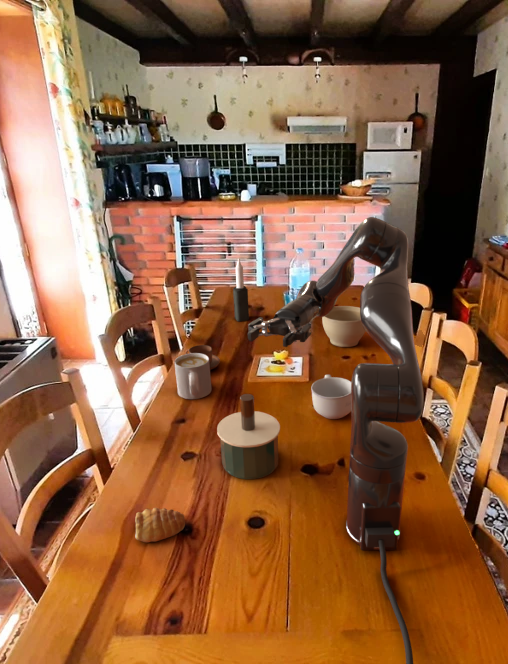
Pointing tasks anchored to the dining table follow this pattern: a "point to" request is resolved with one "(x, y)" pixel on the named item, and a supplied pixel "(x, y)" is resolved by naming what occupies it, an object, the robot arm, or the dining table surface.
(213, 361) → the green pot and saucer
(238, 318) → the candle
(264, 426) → the lid
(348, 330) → the planter bowl
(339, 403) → the teacup
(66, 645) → the dining table surface
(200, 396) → the coffee mug
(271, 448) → the green pot
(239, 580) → the dining table surface
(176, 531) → the pastry
